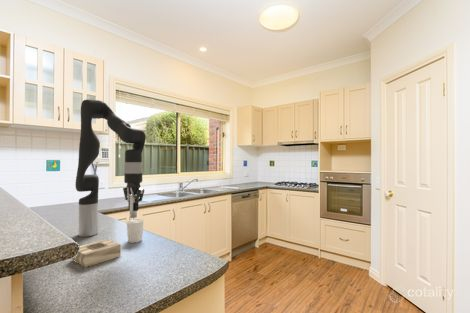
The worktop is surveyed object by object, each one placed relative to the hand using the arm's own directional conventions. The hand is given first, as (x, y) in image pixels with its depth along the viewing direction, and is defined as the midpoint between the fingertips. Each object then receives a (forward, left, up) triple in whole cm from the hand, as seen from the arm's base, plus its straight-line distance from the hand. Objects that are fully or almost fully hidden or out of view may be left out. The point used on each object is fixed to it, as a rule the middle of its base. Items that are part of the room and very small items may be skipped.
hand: (133, 210), depth 110 cm
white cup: (-13, +9, -19) cm, 25 cm away
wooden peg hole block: (-6, -13, -19) cm, 24 cm away
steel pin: (0, 0, -3) cm, 3 cm away
